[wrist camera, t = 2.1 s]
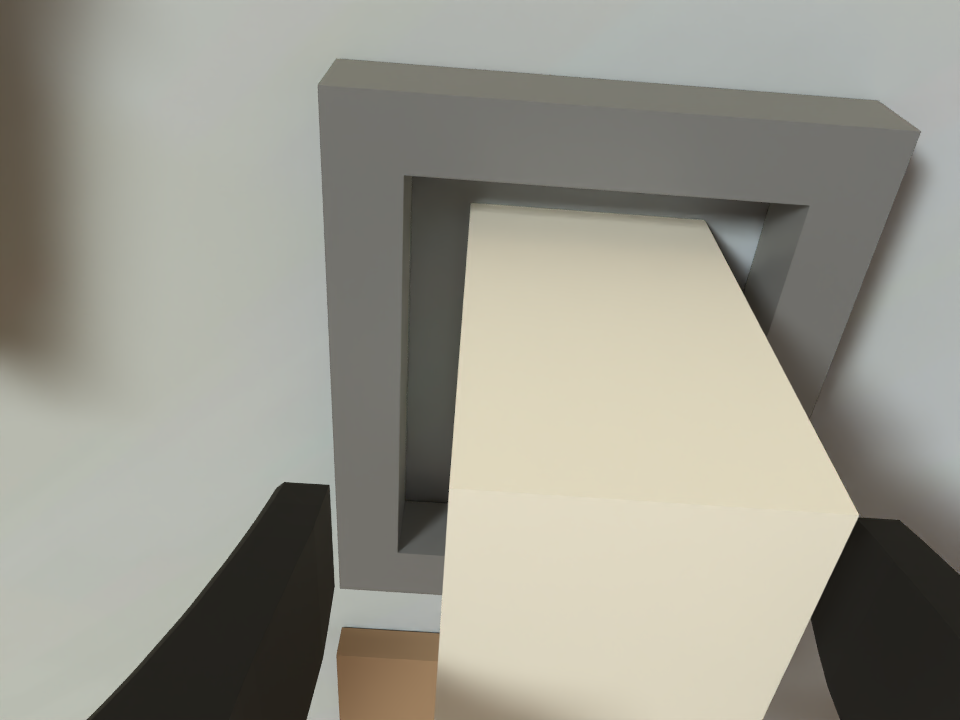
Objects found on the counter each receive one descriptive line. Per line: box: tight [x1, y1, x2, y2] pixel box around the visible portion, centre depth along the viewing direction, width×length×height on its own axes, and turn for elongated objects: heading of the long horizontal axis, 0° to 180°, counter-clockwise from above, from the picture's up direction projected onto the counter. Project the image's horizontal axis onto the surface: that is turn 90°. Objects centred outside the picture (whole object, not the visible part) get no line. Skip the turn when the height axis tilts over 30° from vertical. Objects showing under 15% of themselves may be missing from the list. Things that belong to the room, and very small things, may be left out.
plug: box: [434, 203, 859, 720], centre depth 12 cm, size 4×6×7 cm, turn 176°
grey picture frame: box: [318, 59, 921, 595], centre depth 14 cm, size 8×10×2 cm
